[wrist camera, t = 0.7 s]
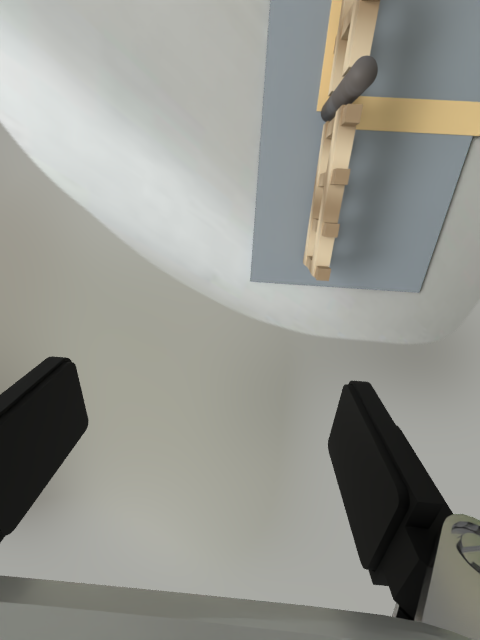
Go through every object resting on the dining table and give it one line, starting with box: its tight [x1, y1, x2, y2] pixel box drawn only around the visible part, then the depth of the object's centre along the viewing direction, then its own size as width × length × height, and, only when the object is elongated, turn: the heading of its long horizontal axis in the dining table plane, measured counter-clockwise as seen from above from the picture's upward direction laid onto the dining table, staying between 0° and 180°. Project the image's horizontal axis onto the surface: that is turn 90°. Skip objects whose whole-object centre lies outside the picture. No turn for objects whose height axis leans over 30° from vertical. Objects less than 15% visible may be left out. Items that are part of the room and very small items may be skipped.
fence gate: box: [303, 104, 363, 281], centre depth 23 cm, size 12×1×7 cm, turn 177°
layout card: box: [250, 0, 480, 293], centre depth 25 cm, size 26×20×1 cm
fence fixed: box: [321, 0, 380, 122], centre depth 19 cm, size 9×2×9 cm, turn 177°
